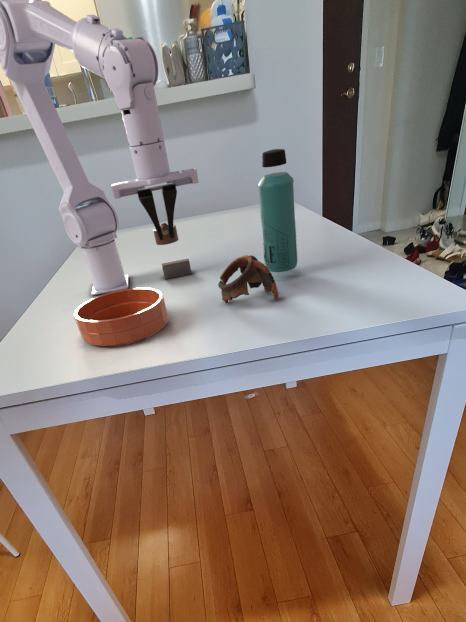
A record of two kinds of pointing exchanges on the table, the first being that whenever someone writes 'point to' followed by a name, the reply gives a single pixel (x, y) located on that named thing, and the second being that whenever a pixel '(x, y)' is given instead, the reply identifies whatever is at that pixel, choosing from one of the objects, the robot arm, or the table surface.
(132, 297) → the bowl
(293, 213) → the beverage bottle
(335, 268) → the table surface
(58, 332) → the table surface
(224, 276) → the broken clay pot
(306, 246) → the table surface
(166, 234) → the ladle
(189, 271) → the grey rectangular block
